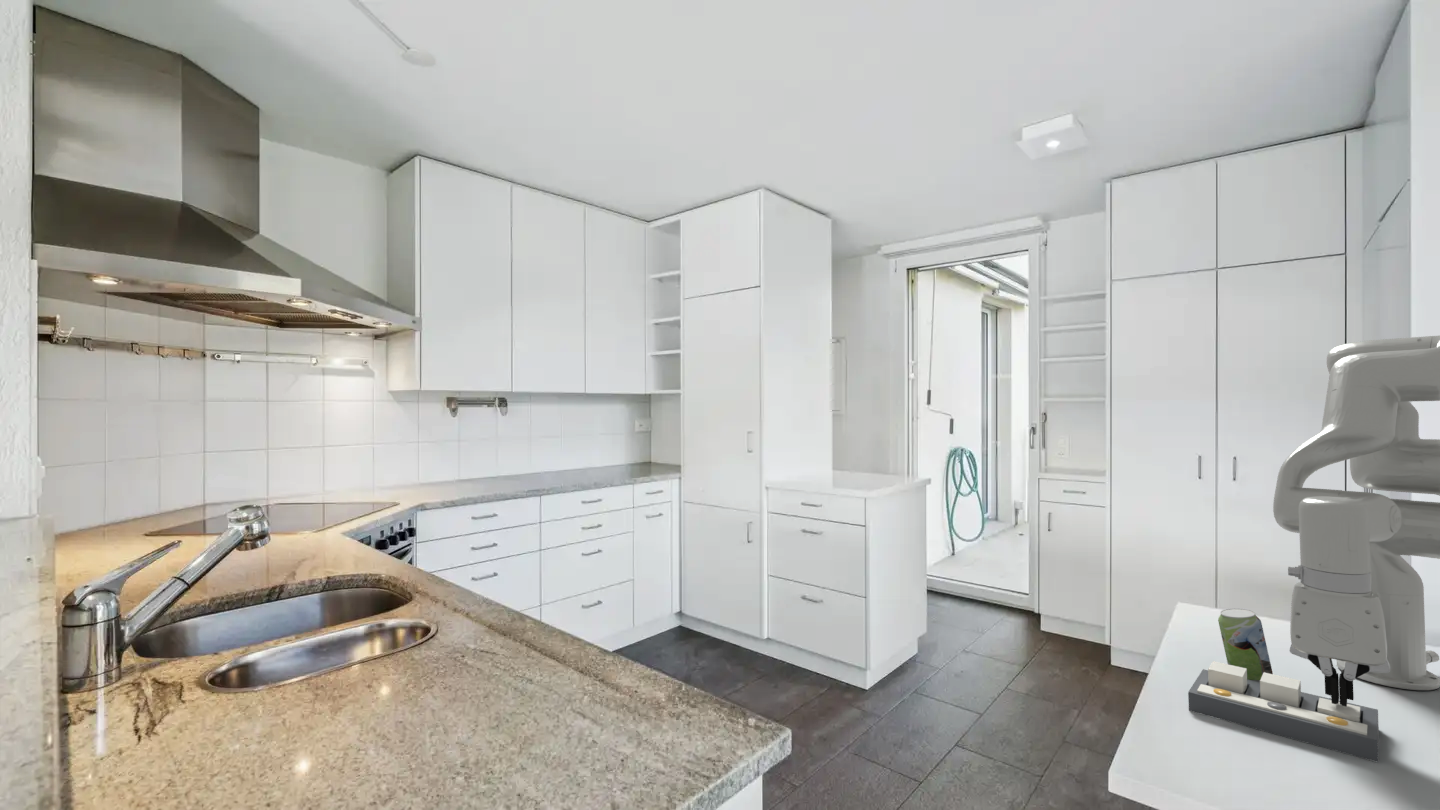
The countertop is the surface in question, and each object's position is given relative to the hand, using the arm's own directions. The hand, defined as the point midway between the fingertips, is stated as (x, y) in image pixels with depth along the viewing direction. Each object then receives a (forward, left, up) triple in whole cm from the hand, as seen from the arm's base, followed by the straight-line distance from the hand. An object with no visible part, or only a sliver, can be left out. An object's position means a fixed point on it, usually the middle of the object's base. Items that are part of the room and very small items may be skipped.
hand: (1339, 701), depth 93 cm
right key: (0, 0, -4) cm, 4 cm away
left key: (+7, -11, -2) cm, 13 cm away
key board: (+5, -5, -4) cm, 8 cm away
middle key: (+4, -5, -2) cm, 7 cm away
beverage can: (-5, -17, -5) cm, 18 cm away
